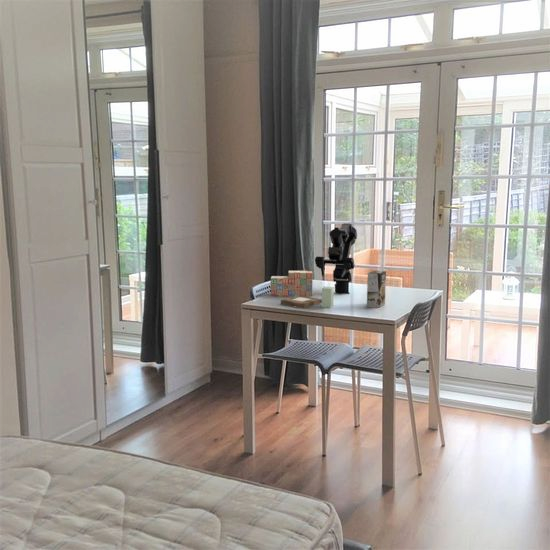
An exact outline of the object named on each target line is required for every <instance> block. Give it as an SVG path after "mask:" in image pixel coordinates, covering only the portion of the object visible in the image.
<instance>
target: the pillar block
mask: <svg viewBox="0 0 550 550" xmlns="http://www.w3.org/2000/svg"><path fill="white" fill-rule="evenodd" d="M334 294H335V286H323V287H321V299H322V303H321V308H327V307H332V306H333V307H334V298H335V297H334ZM333 307H332V308H333Z"/></svg>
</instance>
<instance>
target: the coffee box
mask: <svg viewBox="0 0 550 550" xmlns="http://www.w3.org/2000/svg"><path fill="white" fill-rule="evenodd" d="M366 282H367V285H366V286H367V289H366V307H369V308H376V307H378V309H379V308H381V307H382V306H385V305H386V289H387V288H386V287H387V285H386V284H387V283H386V282H387V271H386V270H372V271H369V272H367V281H366ZM384 304H385V305H384Z"/></svg>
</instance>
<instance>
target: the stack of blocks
mask: <svg viewBox="0 0 550 550" xmlns="http://www.w3.org/2000/svg"><path fill="white" fill-rule="evenodd" d="M271 295H279V296H278V297H295V296H305V297H313V270H288V276H287V275H285V276H284V275H282V276H281V275H277V276H276V275H272V276H271V277H270V296H271Z"/></svg>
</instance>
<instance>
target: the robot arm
mask: <svg viewBox="0 0 550 550" xmlns="http://www.w3.org/2000/svg"><path fill="white" fill-rule="evenodd" d="M329 238H330V243H331V244H332V245H331V246H329V247H328V249H327V254H328V258H327V259H326V258H325V256H318V255H317V256H316V257H315V258H314V261H315V267H317V268H318V269H320V272H321V277H324V274H325V269H326V267H325V266H326V265H335V266H334V269H333V271H332V277H333V282H335V283H334V293H336V294H337V295H344V294H345V295H346V294H348V295H349V294H350V292H349V291H350V288H349V287H350V285H349V283H351V282H352V280H353V279H352V273H351V270H353V269H355V264H356V263H355V260H354V258H353V257H350V255H351V250H352V246H353V245H355V243H356V240H357V239H358V232H357V228H355V227H354V226H353V224H352V223H347V222H346V223H342V224H341V226H340V227H334V228H333V229H332V230H331V231H329Z"/></svg>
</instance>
